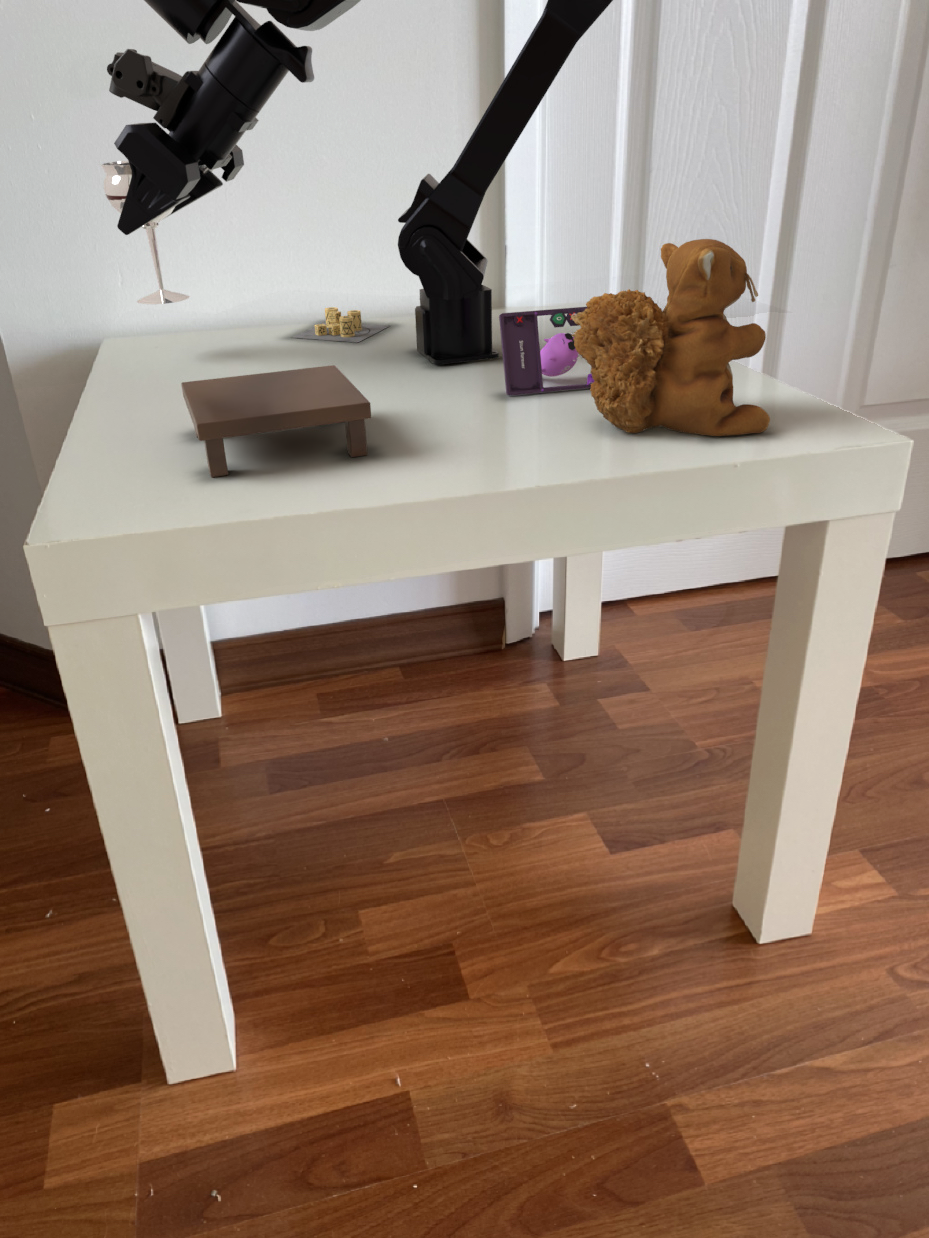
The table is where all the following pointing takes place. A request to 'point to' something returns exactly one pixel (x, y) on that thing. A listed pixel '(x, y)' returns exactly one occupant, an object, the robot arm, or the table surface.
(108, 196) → the wineglass
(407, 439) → the table surface
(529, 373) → the game card
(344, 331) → the dice set
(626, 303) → the stuffed squirrel
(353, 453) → the side table
